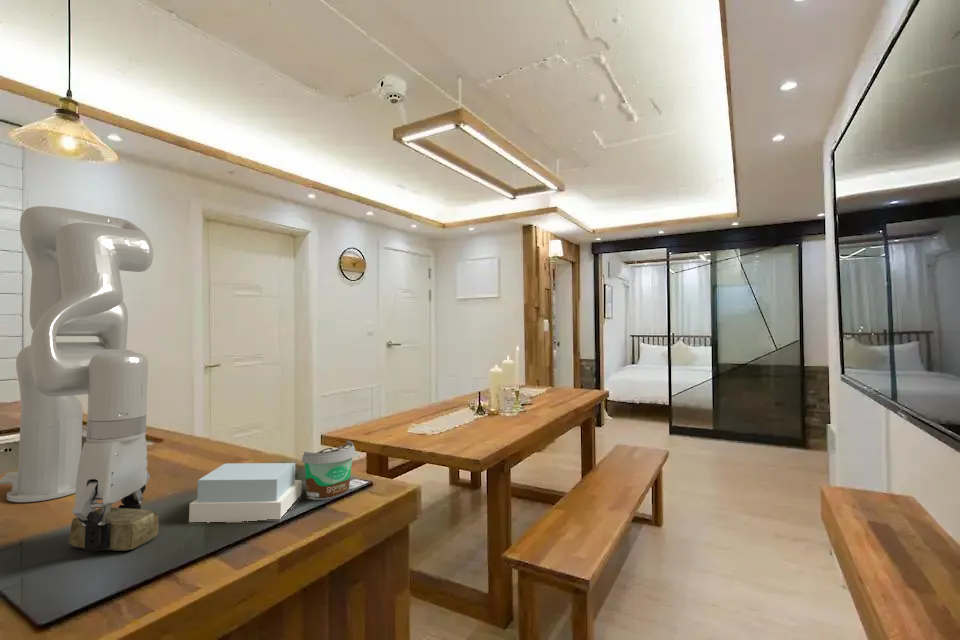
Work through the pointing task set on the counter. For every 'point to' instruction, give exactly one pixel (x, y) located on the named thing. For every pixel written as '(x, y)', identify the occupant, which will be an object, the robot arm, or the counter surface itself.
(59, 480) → the robot arm
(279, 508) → the tower base slab
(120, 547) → the stone block
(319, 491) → the food container
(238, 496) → the tower top slab
